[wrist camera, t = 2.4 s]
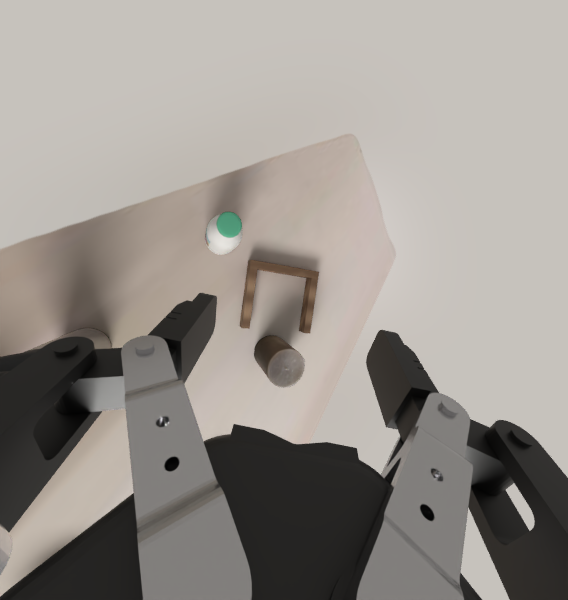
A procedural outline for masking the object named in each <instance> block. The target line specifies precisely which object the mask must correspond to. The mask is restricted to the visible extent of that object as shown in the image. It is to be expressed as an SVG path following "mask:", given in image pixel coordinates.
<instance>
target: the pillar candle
mask: <svg viewBox="0 0 568 600" xmlns="http://www.w3.org/2000/svg"><path fill="white" fill-rule="evenodd" d="M254 356H255V359H256V361H257V363H258V364H259V366H260V367H261V368H262V370H263V371H264V373H265V374H266V375H267V377H268V378H269V380H270V381H271V382H272V383H273V384H274V385H276V386H278V387H283V388H284V387H291V386H293V385H295V383H296V382H297V381H298V380H300V378H301V377H302V374H303V372H304V367H305V364H304V362H305V360H304V358H303V357H302V356H301V354H300V353H299V352H298V351H296V350H295V349H294V348H292V347H291V346H290V345H289V344H287V343H286V342H285V341H284V340H282V339H281V338H279V337H278V336H266V337H264V338H262V339H261V340H260V341H259V342H258V343H257V345H256V347H255V353H254Z"/></svg>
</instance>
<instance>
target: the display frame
mask: <svg viewBox="0 0 568 600" xmlns="http://www.w3.org/2000/svg"><path fill="white" fill-rule="evenodd" d="M257 270H263V271H269V272H275V273H281V274H287V275H293V276H299V277H305V278H306V285H305V292H304V299H303V306H302V313H301V320H300V327H299V331H301V332H303V333H310V329H311V323H312V316H313V309H314V302H315V295H316V288H317V281H318V275H319V272H316V271H311V270H305V269H300V268H294V267H289V266H283V265H277V264H272V263H266V262H261V261H255V260H249V261H248V268H247V275H246V282H245V290H244V297H243V305H242V312H241V320H240V326H241V328H249V327H250V320H251V313H252V305H253V298H254V290H255V283H256V276H257Z"/></svg>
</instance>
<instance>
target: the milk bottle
mask: <svg viewBox="0 0 568 600" xmlns="http://www.w3.org/2000/svg"><path fill="white" fill-rule="evenodd" d="M241 239H242V222H241V220H240V218H239V217H238V216H237V215H236V214H235V213H233V212H224V213H222V214H220V215H217V216H215V217H213V218H212V219H211V220H210V222H209V224H208V226H207V229H206V234H205V242H206V245H207V247H208V248H209V249H210V250H211V251H212V252H213V253H215V254H219V255H224V254H227V253H229V252H231V251H232V250H233V249H234V248H235V247H237V245H238V244H239V243H240V241H241Z"/></svg>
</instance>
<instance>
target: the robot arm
mask: <svg viewBox="0 0 568 600" xmlns="http://www.w3.org/2000/svg"><path fill="white" fill-rule="evenodd" d="M216 305H217V297H216V296H213V295H209V294H204V293H199V294H198V295H197V297H196V298H195V299H194V300H193V301H192V302H191V301H185V302H182V303H180V304H178V305H177V306H176V307H175V308H174V309H173V310H172V311H171V313H169V314H168V315H167V316H166V318H164V319H163V320H162V321H161V322H160V323H159V324H158V325H157V326H156V327H155V328H154V329H153V330H152V331H151V332H150V333H149V334H148V336H141V337H137V338H134V339H132V340H130V341H128V342H127V343H126V344H125V345H124V346H123V347H122V348H111V343H110V340H109V338H108V337H107V336H106V335H105V334H104V333H103V332H101V331H99V330H96V329H92V328H83V329H79V330H76V331H73V332H71V333H69V334H66V335H64V336H61V337H59V338H57V339H54V340H52V341H50V342H47V343H45V344H42V345H40V346H38V347H35V348H33V349H31V350H28V351H26V352H24V353H20V354H14V355H8V356H3V357H0V575H1V573H2V571H3V570H4V568H5V566H6V565H7V562H8V560H9V558H10V555H11V552H12V546H13V542H12V537H11V535H10V534H9V532H10V531H11V529H12V528H13V527H14V525H15V524H16V523H17V521H18V520H19V519H20V518H21V516H22V515H23V514H24V512H25V511H26V510H27V508H28V507H29V506H30V505H31V503H32V502H33V501H34V499H35V498H36V497H37V495H38V494H39V493H40V492H41V490H42V489H43V488H44V486H45V485H46V484H47V482H48V481H49V480H50V479H51V477H52V476H53V475H54V473H55V472H56V471H57V469H58V468H59V467H60V466H61V464H62V463H63V462H64V460H65V459H66V458H67V456H68V455H69V454H70V453H71V451H72V450H73V449H74V447H75V446H76V445H77V444H78V442H79V441H80V440H81V438H82V437H83V436H84V434H85V433H86V432H87V431H88V429H89V428H90V427H91V425H92V424H93V423H94V421H95V420H96V419H97V418H98V416H99V415H100V414H101V412H102V411H107V410H117V409H126V418H127V428H128V438H129V448H130V459H131V469H132V479H133V489H134V493H133V494H132V495H130V496H129V497H128V498H127V499H125V500H124V501H123V502H121V503H120V504H119V505H118V506H116V507H115V508H114V509H112V510H111V511H110V512H108V513H107V514H106V515H105V516H103V517H102V518H101V519H99V520H98V521H97V522H96V523H94V524H93V525H92V526H90V527H89V528H88V529H86V530H85V531H84V532H83V533H81V534H80V535H79V536H77V537H76V538H75V539H74V540H72V541H71V542H70V543H68V544H67V545H66V546H64V547H63V548H62V549H61V550H59V551H58V552H57V553H55V554H54V555H53V556H51V557H50V558H49V559H48V560H46V561H45V562H44V563H42V564H41V565H40V566H39V567H37V568H36V569H35V570H33V571H32V572H31V573H29V574H28V575H27V576H26V577H24V578H23V579H22V580H20V581H19V582H18V583H16V584H15V585H14V586H13V587H11V588H10V589H9V590H8V591H7V592H5V593H4V594H3V595H2V596H1V597H0V600H482V599H481V598H480V597H479V595H478V594H477V593H476V592H475V590H474V589H473V588H472V587H471V585H470V584H469V583H468V582H467V580H466V579H465V578H464V577H463V575H462V574H461V573H460V570H461V563H462V554H463V546H464V538H465V530H466V522H467V513H468V507H469V509H470V512H471V514H472V516H473V518H474V520H475V523H476V525H477V527H478V529H479V532H480V534H481V536H482V538H483V541H484V543H485V545H486V547H487V550H488V552H489V554H490V556H491V559H492V561H493V563H494V565H495V568H496V570H497V572H498V574H499V577H500V579H501V581H502V583H503V585H504V588H505V590H506V592H507V594H508V597H509V599H510V600H568V478H567V477H566V475H565V474H564V473H563V472H562V470H561V469H560V468H559V467H558V466H557V464H556V463H555V462H554V461H553V459H552V458H551V457H550V456H549V455H548V453H547V452H546V451H545V450H544V448H542V446H541V445H540V444H539V443H538V441H537V440H535V439H534V438H533V437H532V436H531V435H530V434H529V433H528V432H526V431H525V430H523V429H522V428H520V427H519V426H517V425H515V424H513V423H511V422H508V421H504V420H498V421H496V422H495V423H494V424H493V425H492V426H491V427H490V428H489V427H487V426H485V425H482V424H480V423H478V422H476V421H473V420H471V419H470V418H469V415H468V414H467V412H466V411H465V409H464V408H463V407H462V406H461V405H460V404H459V403H457V402H456V401H455V400H453V399H451V398H450V397H448V396H446V395H443V394H440V393H439V392H438V390H437V389H436V387H435V386H434V384H433V382H432V381H431V379H430V377H429V376H428V374H427V372H426V371H425V370H424V368H423V366H422V364H421V363H420V361H419V359H418V358H417V356H416V355H415V353H414V352H413V351H412V350H411V349H409V347H408V346H406V345H404V343H403V342H402V340H401V338H400V337H399V335H398V334H397V333H394V332H389V331H385V330H380V331H379V332H378V334H377V336H376V338H375V340H374V342H373V344H372V346H371V349H370V350H369V353H368V355H367V361H366V363H367V369H368V371H369V375H370V378H371V381H372V384H373V387H374V390H375V393H376V397H377V400H378V403H379V406H380V409H381V412H382V415H383V419H384V421H385V425H386V427H388V428H393V429H398V431H399V433H400V437H399V438H398V440H397V442H396V444H395V446H394V448H393V450H392V452H391V455H390V457H389V459H388V461H387V463H386V465H385V467H384V469H383V471H382V473H381V475H380V474H379V473H378V472H376V471H375V470H374V469H373V468H371V467H370V466H369V465H367V464H365V463H364V462H362V461H360V460H359V458H358V453H357V448H353V447H348V446H343V445H338V444H333V443H328V442H325V443H312V444H293V443H291V442H288V441H286V440H284V439H282V438H280V437H278V436H276V435H274V434H271V433H269V432H267V431H265V430H261V429H256V428H251V427H246V426H241V425H235V424H234V425H233V429H232V433H231V434H228V435H222V436H217V437H214V438H211V439H208V440H206V441H204V442H203V439H202V436H201V433H200V430H199V427H198V424H197V421H196V418H195V415H194V412H193V409H192V406H191V403H190V400H189V397H188V394H187V391H186V388H185V385H184V383H185V381H186V380H187V378H188V376H189V374H190V373H191V371H192V369H193V367H194V366H195V364H196V362H197V360H198V359H199V357H200V355H201V353H202V352H203V350H204V348H205V346H206V345H207V343H208V341H209V339H210V338H211V336H212V334H213V331H214V327H215V320H216ZM513 483H515V485H516V486H517V487H518V489H519V491H520V492H521V494H522V496H523V497H524V499H525V500H526V502H527V503H528V505H529V507H530V508H531V510H532V512H533V515H534V519H535V525H534V528H533V529H532V530H531V531H529V529H528V528H527V526H526V524H525V523H524V521H523V519H522V518H521V516H520V514H519V512H518V511H517V509H516V507H515V506H514V504H513V502H512V501H511V499H510V497H509V496H508V494H507V492H506V489H507V488H508V487H509V486H511V485H512V484H513Z"/></svg>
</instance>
